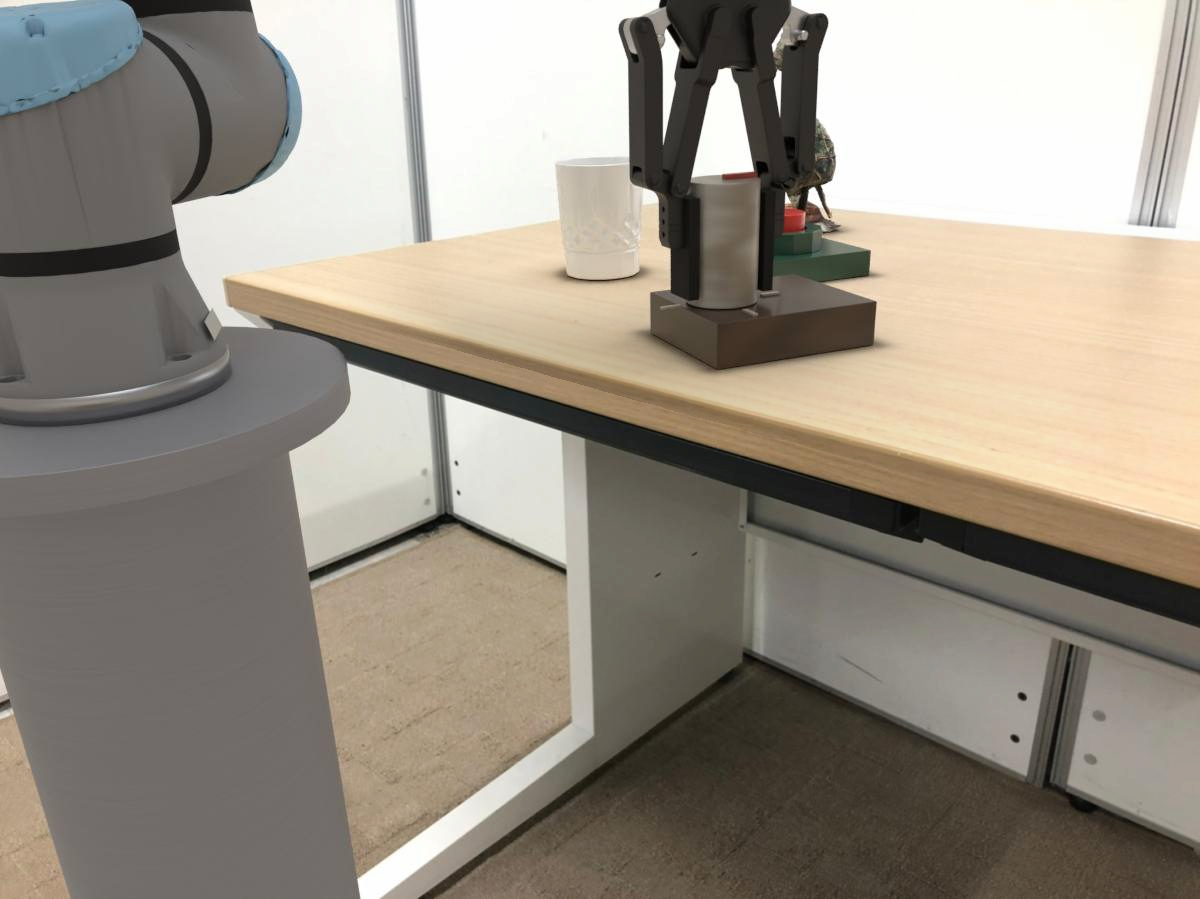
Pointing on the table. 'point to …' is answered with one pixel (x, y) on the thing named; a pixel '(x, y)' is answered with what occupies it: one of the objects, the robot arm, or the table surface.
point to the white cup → (599, 217)
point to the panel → (767, 323)
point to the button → (794, 220)
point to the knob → (728, 239)
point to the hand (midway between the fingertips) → (721, 290)
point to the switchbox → (818, 256)
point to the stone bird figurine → (820, 174)
